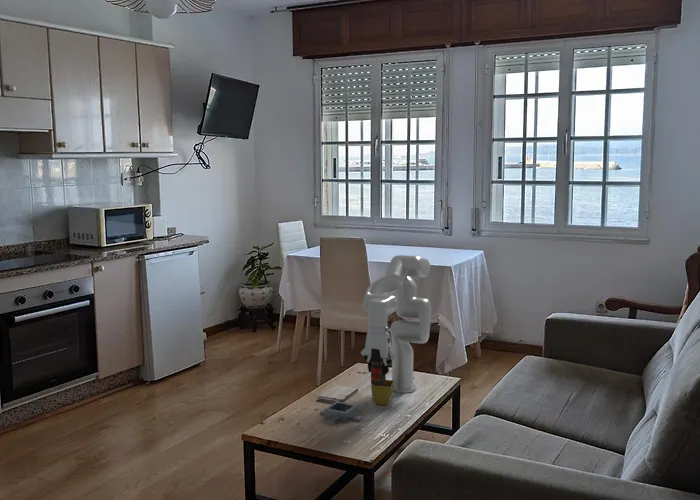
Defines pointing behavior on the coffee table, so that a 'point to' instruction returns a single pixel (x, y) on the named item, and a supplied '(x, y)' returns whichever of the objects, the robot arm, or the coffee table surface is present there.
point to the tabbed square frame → (341, 413)
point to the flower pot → (382, 392)
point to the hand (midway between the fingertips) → (378, 372)
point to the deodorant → (377, 369)
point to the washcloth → (337, 394)
